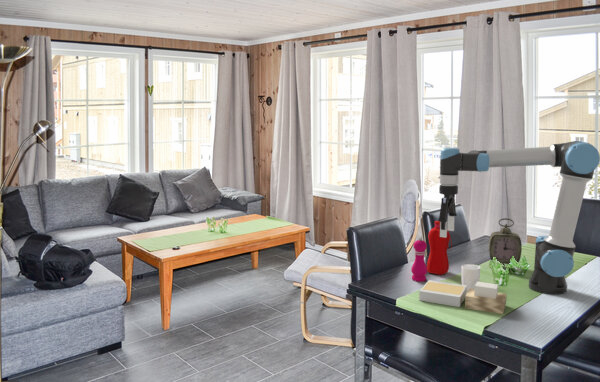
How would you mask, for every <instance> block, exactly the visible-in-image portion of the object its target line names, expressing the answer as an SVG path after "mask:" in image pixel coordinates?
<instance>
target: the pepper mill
mask: <svg viewBox="0 0 600 382" xmlns="http://www.w3.org/2000/svg"><path fill="white" fill-rule="evenodd" d="M417 238H418V240H415V241H414V242H413V245H412V246H413V249H414V251H413V252H414V253H413V254H414V256H415V258H414V262H412V266H411V269H410V271H411V273H412V275H411V280H412V281H414V282H419V283H420V282H421V283H422V282H426V280H427V274H428V271H427V263H426V262H425V255H426V250H427V247H428V244H427V242H426V241H425V240H423V237H422V236H419V237H417Z"/></svg>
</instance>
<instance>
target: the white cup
mask: <svg viewBox="0 0 600 382" xmlns="http://www.w3.org/2000/svg"><path fill="white" fill-rule="evenodd" d="M460 270H461V271H460V272H461V275H460V276H461V277H460V278H461V285H467V292H468V291H469V289H475V284H476V283H477V282H480V277H481V266H479V265H477V264H472V263H469V264H468V263H467V264H462V265H461V269H460Z"/></svg>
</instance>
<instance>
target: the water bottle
mask: <svg viewBox="0 0 600 382" xmlns="http://www.w3.org/2000/svg"><path fill="white" fill-rule="evenodd" d="M427 236H428V237H427V239H428V244H429V254H428V258H427V261H426V266H427V273H429V274H433V275H438V276H442V275H445V274H447V273H448V272H449V270H450V263H449V262H450V261H449V257H448V252H447V251H448V250H449V251H451V250H452V247H453V246H452V245H453V243H452V241H451V240H452V238H451V234H450V231H447V237H446V238H445V237H440V222H438V220H435V221H434V227H433V228H431V229H430V230H429V231H428V234H427ZM449 242H450V246H451V248H449Z"/></svg>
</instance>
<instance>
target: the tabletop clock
mask: <svg viewBox="0 0 600 382" xmlns="http://www.w3.org/2000/svg"><path fill="white" fill-rule="evenodd" d="M504 220H505V221H511V223H512V224H511V225H508V224H507V223H504V224H501V221H504ZM498 225H499V226H501V227H502V228H501V229H500V231H493V232H491V233H490V236H489V241H488V253H489V258H490V261H491V260H492V259H493V257H496V259H497V261H499V262H500V263H499V264H501V265H502V264H503V265H504V266H506V265H510V264H509V263H510V259H511V258H512V256H514V258H515V260H516V261H517V262H518V263H520V260H521V257H522V240H521V237H520V235H519V234H518V233H516V232H512V230H511V229H510V227H513V226H514V225H515V222H514V220H513V219H511V218H507V217H504V218H500V219H499V221H498Z"/></svg>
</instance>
